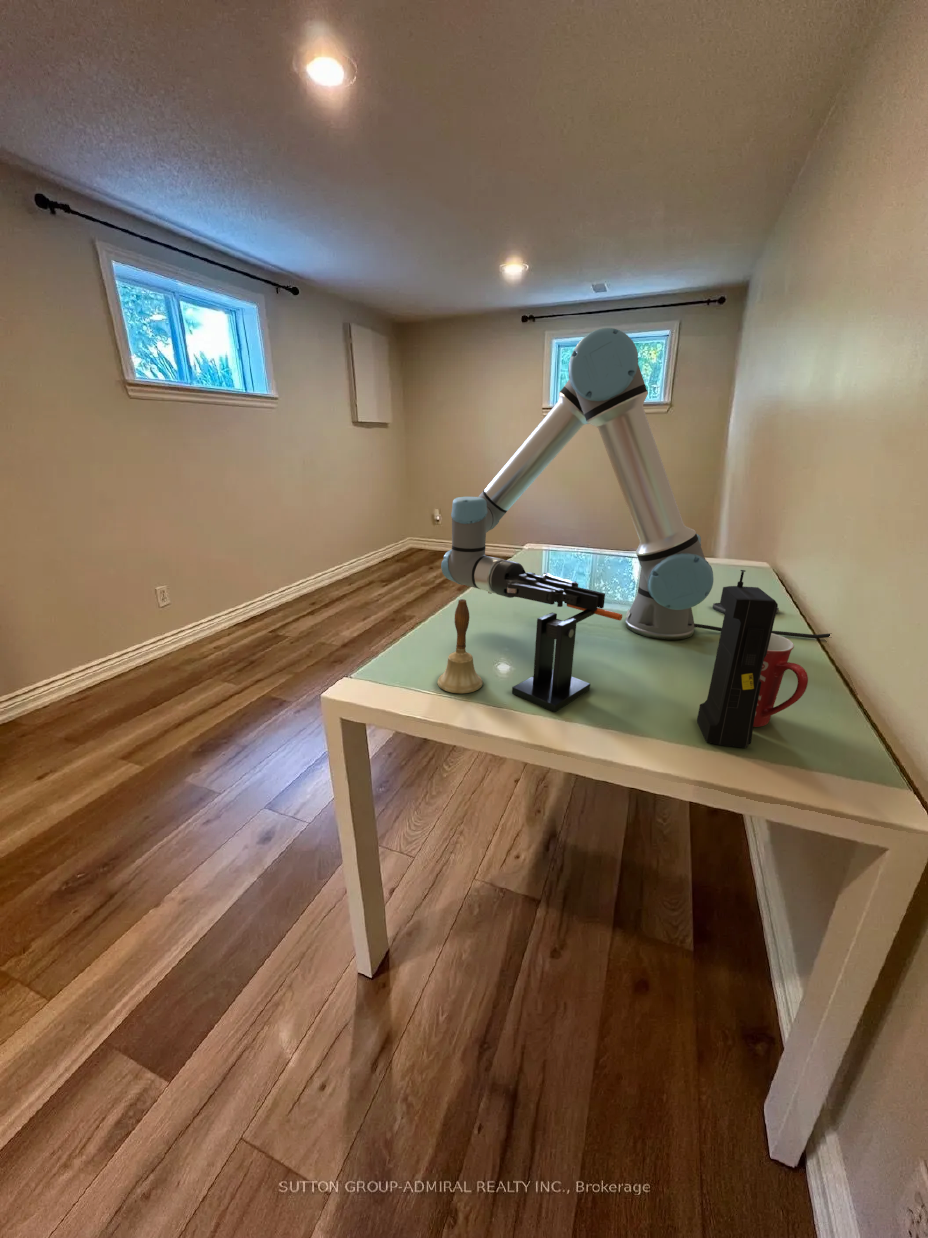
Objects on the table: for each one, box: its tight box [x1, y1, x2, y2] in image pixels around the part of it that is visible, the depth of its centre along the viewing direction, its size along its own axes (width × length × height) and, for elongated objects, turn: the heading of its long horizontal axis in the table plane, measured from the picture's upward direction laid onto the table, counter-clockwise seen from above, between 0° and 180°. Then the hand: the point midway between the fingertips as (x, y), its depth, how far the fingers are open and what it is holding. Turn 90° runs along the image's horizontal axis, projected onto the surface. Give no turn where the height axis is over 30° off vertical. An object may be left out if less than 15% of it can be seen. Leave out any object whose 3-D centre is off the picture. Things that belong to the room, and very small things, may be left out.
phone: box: [712, 602, 780, 615], centre depth 130 cm, size 8×1×15 cm
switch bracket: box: [511, 612, 591, 713], centre depth 85 cm, size 11×9×14 cm
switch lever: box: [546, 604, 623, 640], centre depth 86 cm, size 14×11×2 cm
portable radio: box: [696, 569, 779, 749], centre depth 70 cm, size 8×6×25 cm
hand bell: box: [436, 598, 484, 694], centre depth 87 cm, size 8×8×16 cm
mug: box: [753, 633, 809, 728], centre depth 76 cm, size 13×9×14 cm
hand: (599, 602), depth 89 cm, fingers closed on switch lever, 2 cm apart
